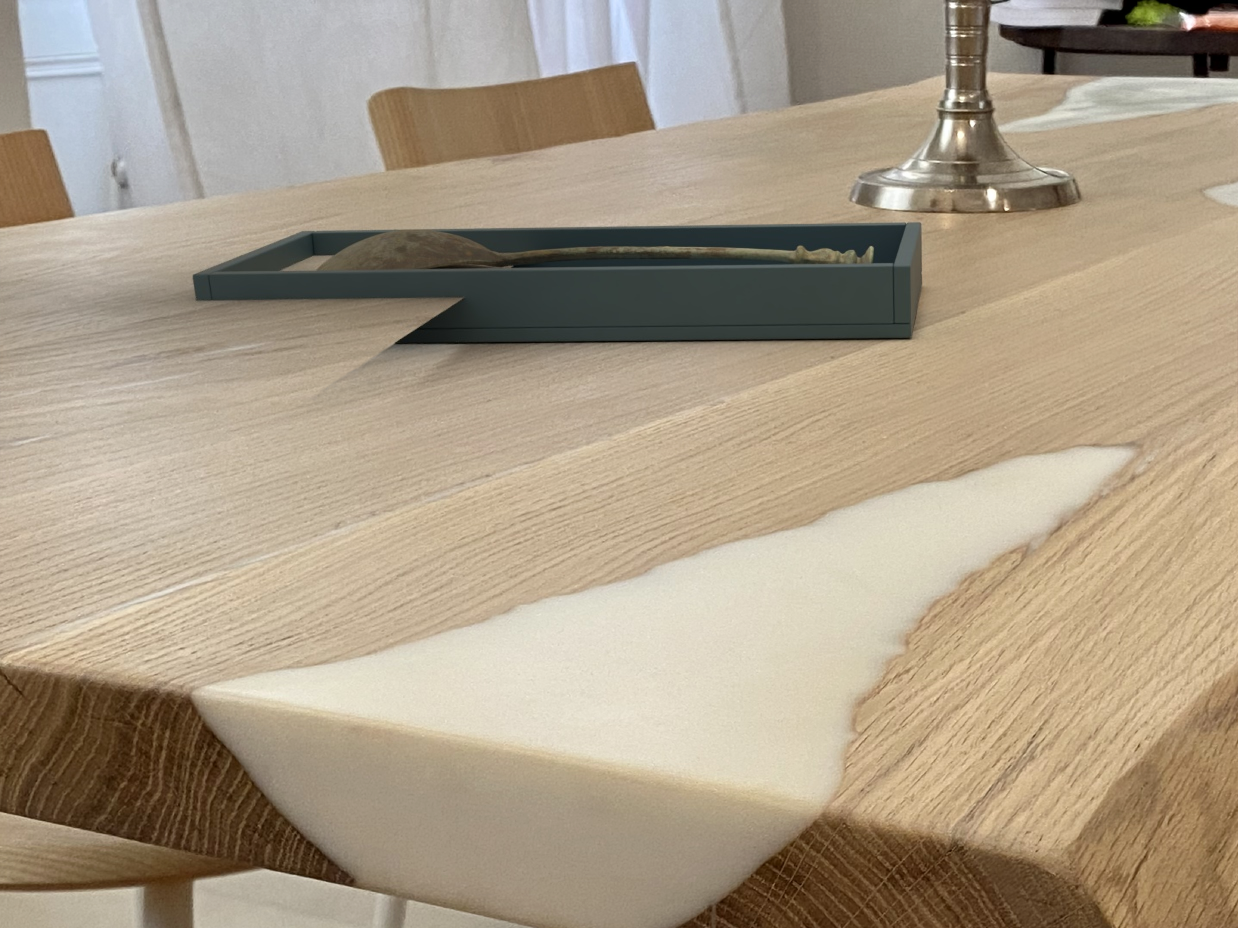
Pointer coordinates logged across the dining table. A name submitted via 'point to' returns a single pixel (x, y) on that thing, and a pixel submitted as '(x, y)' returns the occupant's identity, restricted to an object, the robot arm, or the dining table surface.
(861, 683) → the dining table surface
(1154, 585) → the dining table surface
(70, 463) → the dining table surface
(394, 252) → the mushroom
